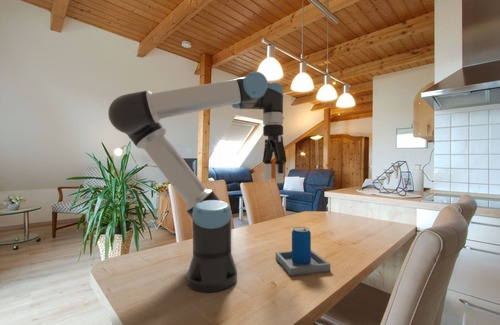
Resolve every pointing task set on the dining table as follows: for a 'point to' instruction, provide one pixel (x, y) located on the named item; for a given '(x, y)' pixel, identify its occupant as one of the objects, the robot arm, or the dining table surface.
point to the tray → (294, 270)
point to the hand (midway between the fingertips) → (273, 181)
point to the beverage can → (301, 246)
